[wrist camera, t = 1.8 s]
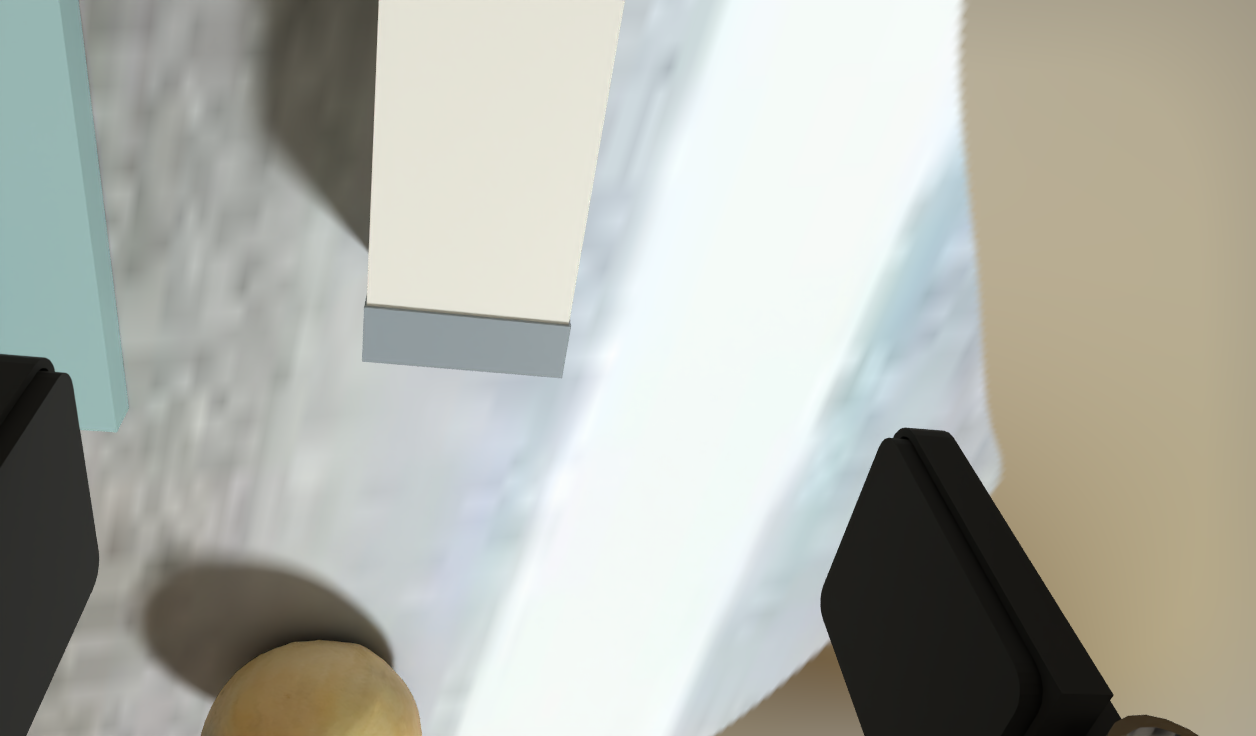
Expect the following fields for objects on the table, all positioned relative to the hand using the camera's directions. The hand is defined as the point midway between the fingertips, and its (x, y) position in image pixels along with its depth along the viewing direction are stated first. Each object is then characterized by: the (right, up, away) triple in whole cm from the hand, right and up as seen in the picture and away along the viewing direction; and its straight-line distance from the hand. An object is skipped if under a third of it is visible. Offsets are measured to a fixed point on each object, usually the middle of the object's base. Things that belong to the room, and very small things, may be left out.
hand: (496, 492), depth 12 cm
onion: (-11, -11, +28) cm, 32 cm away
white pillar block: (-2, +10, +14) cm, 17 cm away
